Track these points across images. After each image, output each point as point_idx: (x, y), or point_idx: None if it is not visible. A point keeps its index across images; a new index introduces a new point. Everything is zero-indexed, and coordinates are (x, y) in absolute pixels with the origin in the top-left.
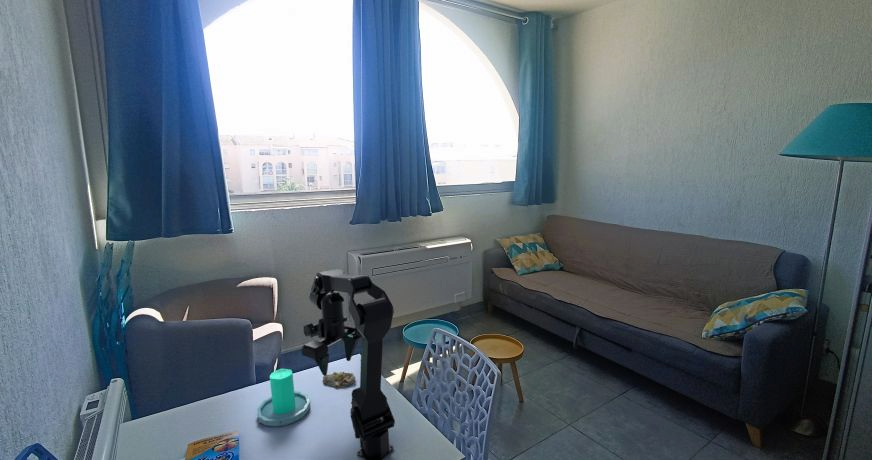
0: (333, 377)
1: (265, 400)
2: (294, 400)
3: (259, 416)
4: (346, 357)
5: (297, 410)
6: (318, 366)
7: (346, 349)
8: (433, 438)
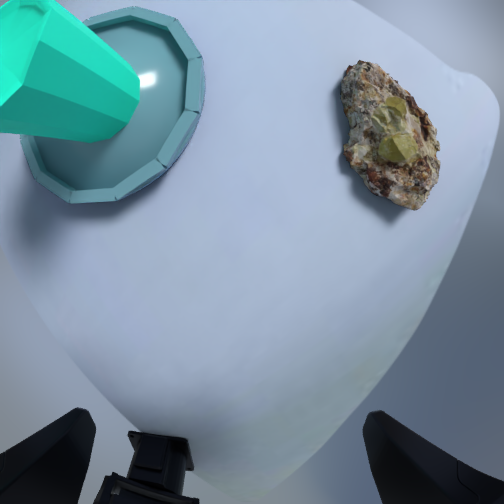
0: (376, 119)
1: (94, 18)
2: (109, 124)
3: None
4: (377, 433)
5: (110, 160)
6: (17, 444)
7: (416, 488)
8: (261, 489)
